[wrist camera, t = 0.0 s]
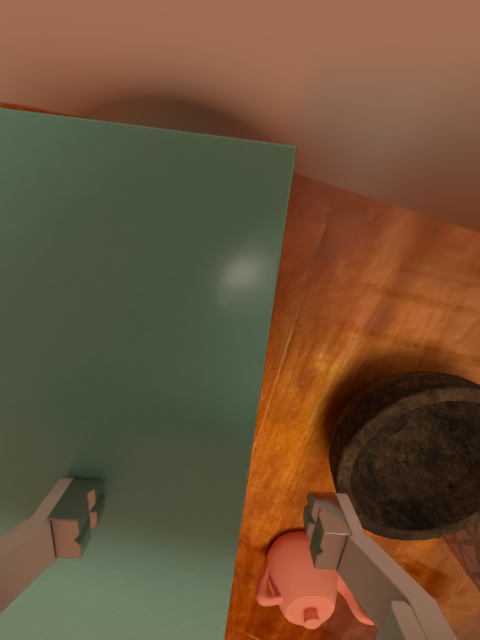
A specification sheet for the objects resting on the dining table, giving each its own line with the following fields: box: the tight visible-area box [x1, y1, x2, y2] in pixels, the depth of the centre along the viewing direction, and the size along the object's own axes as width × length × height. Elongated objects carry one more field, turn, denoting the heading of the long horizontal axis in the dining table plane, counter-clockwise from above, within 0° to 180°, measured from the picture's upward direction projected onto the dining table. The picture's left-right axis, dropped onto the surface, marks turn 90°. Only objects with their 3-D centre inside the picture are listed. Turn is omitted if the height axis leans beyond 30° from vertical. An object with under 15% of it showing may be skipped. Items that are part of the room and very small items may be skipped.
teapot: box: [256, 531, 374, 629], centre depth 43 cm, size 12×18×10 cm
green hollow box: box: [0, 108, 296, 640], centre depth 22 cm, size 16×28×24 cm, turn 174°
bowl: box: [329, 371, 480, 540], centre depth 34 cm, size 22×22×10 cm
